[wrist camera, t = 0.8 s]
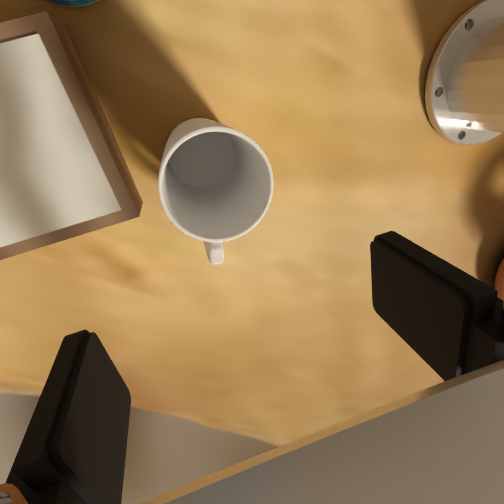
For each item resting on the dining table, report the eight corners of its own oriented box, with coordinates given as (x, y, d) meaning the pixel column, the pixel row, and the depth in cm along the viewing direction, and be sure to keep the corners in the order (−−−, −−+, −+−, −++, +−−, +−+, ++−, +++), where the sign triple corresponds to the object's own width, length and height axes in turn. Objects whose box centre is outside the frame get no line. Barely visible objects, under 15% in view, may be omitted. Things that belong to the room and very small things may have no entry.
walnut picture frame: (65, 23, 23) (45, 10, 20) (142, 202, 30) (138, 217, 26) (-108, 67, 22) (-163, 62, 19) (11, 242, 29) (-12, 264, 25)
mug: (159, 112, 27) (152, 124, 17) (238, 115, 29) (278, 127, 18) (167, 225, 31) (166, 291, 21) (236, 222, 33) (266, 283, 22)
